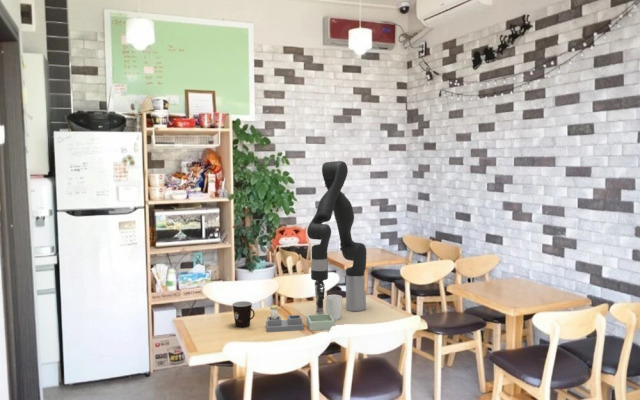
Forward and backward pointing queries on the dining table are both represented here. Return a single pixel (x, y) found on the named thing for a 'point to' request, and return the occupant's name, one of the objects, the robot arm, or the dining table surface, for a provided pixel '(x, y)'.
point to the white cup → (334, 306)
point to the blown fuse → (318, 310)
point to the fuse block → (285, 324)
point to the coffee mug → (242, 313)
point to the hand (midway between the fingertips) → (319, 306)
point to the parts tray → (320, 322)
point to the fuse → (274, 312)
